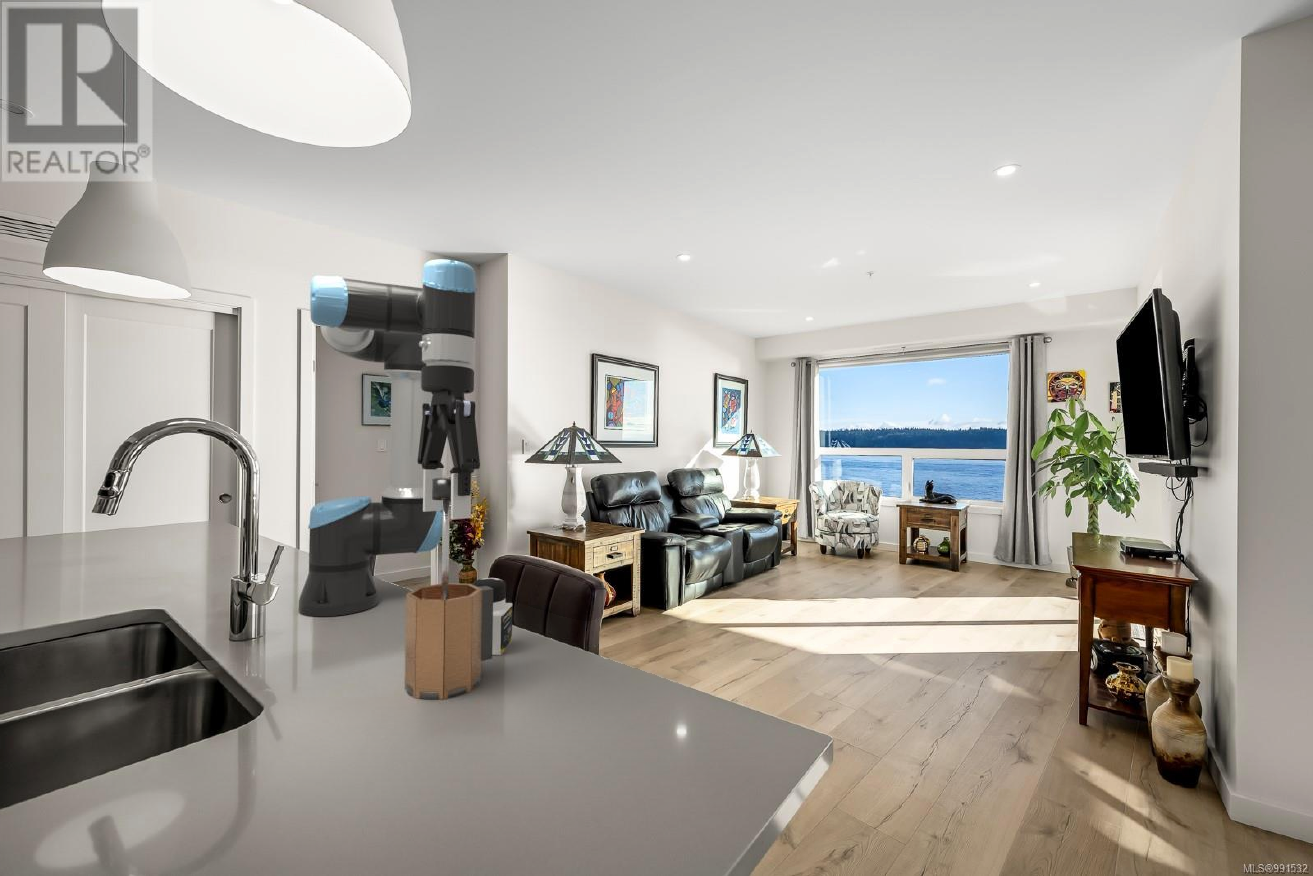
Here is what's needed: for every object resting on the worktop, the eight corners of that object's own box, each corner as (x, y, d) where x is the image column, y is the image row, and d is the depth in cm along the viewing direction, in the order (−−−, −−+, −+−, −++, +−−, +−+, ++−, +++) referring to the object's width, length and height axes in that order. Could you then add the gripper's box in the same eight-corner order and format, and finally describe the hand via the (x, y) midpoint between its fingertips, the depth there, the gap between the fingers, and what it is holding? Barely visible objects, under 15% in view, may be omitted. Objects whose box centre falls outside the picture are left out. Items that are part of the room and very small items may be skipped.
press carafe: (395, 682, 90) (397, 590, 90) (473, 662, 98) (475, 577, 98) (421, 706, 82) (423, 605, 82) (504, 682, 90) (505, 590, 90)
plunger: (409, 622, 90) (411, 478, 89) (458, 612, 95) (460, 476, 95) (428, 635, 84) (431, 481, 84) (479, 624, 89) (481, 479, 89)
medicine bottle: (501, 656, 101) (502, 585, 101) (459, 655, 101) (461, 584, 101) (512, 641, 108) (513, 576, 108) (473, 640, 108) (474, 575, 108)
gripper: (396, 369, 95) (394, 508, 95) (455, 357, 78) (452, 525, 78) (442, 373, 100) (440, 505, 100) (507, 362, 83) (504, 521, 83)
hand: (446, 514), depth 89 cm, fingers open, 10 cm apart
